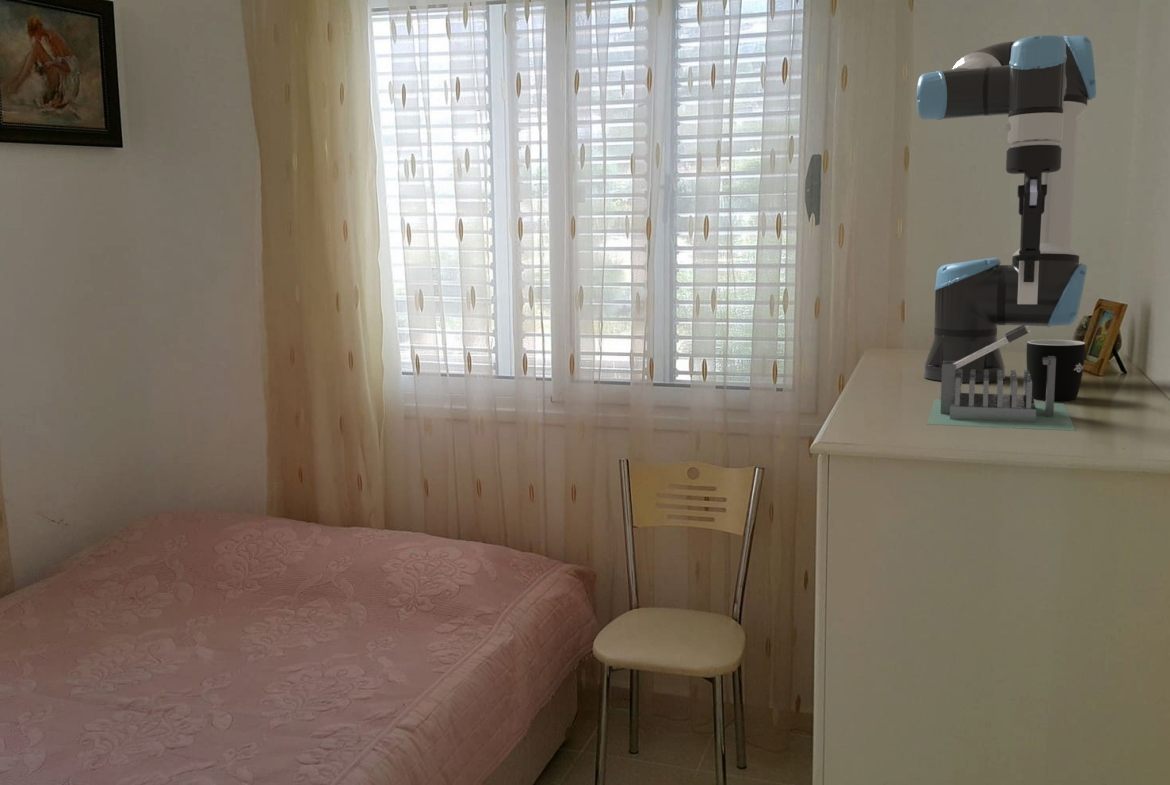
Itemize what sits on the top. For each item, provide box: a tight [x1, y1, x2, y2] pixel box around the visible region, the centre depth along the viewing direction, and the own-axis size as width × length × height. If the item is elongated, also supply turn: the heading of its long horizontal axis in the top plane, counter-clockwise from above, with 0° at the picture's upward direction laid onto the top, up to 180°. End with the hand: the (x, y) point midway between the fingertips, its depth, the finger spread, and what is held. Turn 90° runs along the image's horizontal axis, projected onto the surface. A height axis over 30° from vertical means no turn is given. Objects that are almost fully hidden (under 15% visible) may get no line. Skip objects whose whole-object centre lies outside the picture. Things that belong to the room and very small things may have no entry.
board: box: [927, 398, 1076, 432], centre depth 159 cm, size 24×20×1 cm
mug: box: [1026, 339, 1086, 403], centre depth 172 cm, size 12×9×10 cm
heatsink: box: [940, 356, 1056, 423], centre depth 158 cm, size 14×16×9 cm
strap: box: [953, 325, 1032, 369], centre depth 158 cm, size 5×14×1 cm, turn 69°
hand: (1027, 303), depth 155 cm, fingers closed
